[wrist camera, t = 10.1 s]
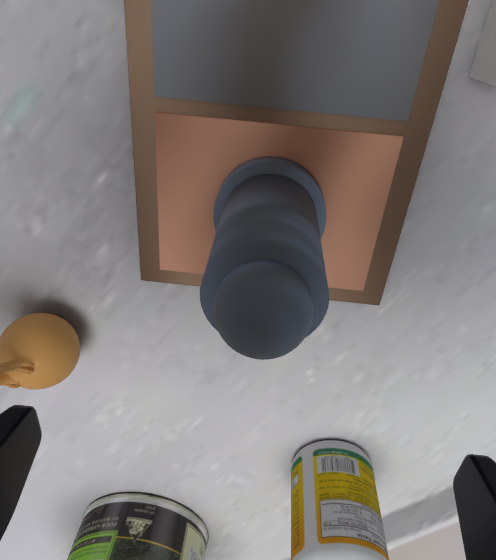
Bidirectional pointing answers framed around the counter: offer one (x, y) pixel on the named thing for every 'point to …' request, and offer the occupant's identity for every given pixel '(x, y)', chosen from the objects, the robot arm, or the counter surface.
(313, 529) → the supplement bottle
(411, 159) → the game board
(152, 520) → the coffee can
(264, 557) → the counter surface
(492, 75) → the white die
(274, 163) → the pawn
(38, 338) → the figurine
